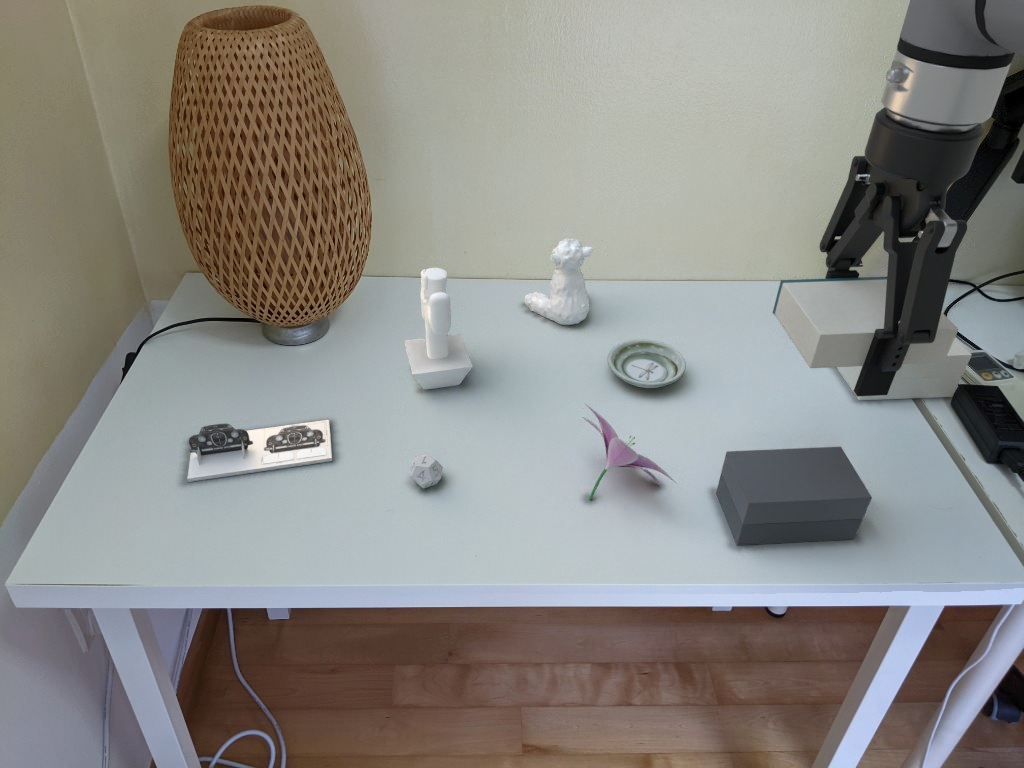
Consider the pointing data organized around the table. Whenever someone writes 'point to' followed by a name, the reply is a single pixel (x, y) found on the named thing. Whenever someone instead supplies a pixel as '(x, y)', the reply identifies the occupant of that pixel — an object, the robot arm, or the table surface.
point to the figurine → (437, 338)
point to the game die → (425, 470)
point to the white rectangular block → (920, 377)
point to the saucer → (646, 363)
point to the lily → (621, 452)
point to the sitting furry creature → (564, 286)
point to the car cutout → (256, 449)
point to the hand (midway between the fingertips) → (846, 360)
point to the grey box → (791, 495)
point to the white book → (846, 321)
